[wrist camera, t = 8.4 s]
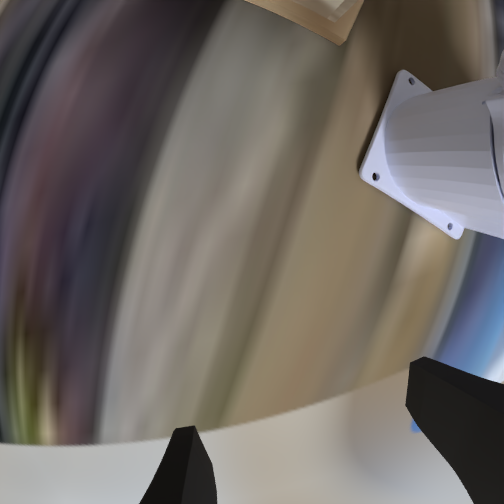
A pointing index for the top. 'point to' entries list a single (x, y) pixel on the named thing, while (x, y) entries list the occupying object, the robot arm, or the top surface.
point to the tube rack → (317, 15)
